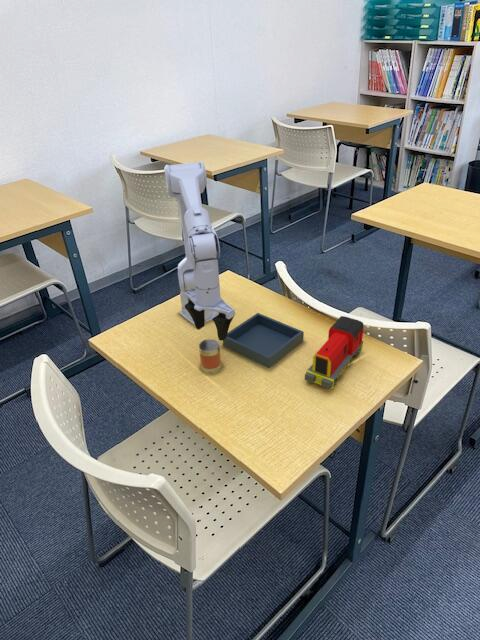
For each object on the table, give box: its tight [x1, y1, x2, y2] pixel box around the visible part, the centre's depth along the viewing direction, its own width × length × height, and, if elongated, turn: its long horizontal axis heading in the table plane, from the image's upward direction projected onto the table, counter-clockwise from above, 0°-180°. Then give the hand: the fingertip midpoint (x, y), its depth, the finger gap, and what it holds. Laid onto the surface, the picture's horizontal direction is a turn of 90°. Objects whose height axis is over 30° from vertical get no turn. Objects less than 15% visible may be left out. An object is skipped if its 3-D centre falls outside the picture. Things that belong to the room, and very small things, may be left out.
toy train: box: [304, 315, 365, 390], centre depth 116 cm, size 7×19×10 cm, turn 146°
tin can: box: [198, 338, 222, 373], centre depth 119 cm, size 5×5×7 cm
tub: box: [222, 312, 305, 369], centre depth 127 cm, size 16×15×4 cm
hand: (211, 333), depth 117 cm, fingers open, 7 cm apart
